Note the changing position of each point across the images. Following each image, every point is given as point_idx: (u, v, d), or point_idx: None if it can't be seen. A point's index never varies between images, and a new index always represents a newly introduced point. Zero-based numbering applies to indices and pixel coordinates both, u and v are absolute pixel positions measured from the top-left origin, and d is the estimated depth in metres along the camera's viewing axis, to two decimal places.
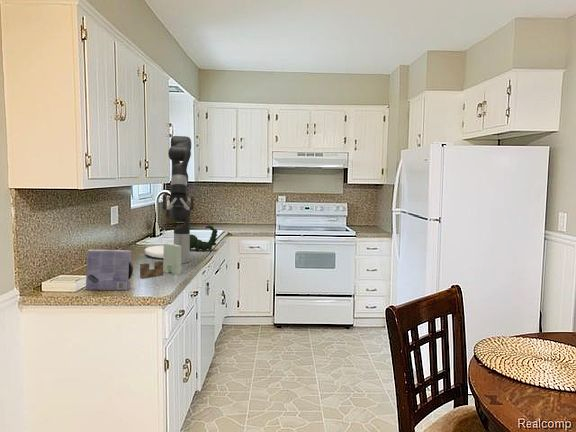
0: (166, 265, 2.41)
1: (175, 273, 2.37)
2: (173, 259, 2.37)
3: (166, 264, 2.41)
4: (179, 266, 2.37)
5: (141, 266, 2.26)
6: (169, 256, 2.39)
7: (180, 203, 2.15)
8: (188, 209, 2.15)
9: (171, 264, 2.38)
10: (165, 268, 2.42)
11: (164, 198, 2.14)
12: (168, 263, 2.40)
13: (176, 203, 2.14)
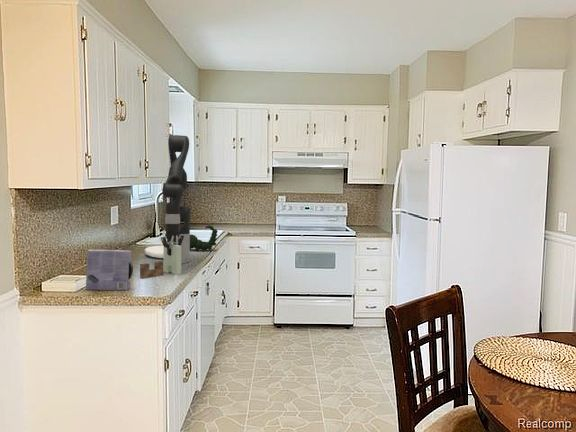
0: (166, 265, 2.41)
1: (175, 273, 2.37)
2: (173, 259, 2.37)
3: (166, 264, 2.41)
4: (179, 266, 2.37)
5: (141, 266, 2.26)
6: (169, 256, 2.39)
7: (174, 239, 2.39)
8: None
9: (171, 264, 2.38)
10: (165, 268, 2.42)
11: (164, 239, 2.34)
12: (168, 263, 2.40)
13: (173, 239, 2.39)
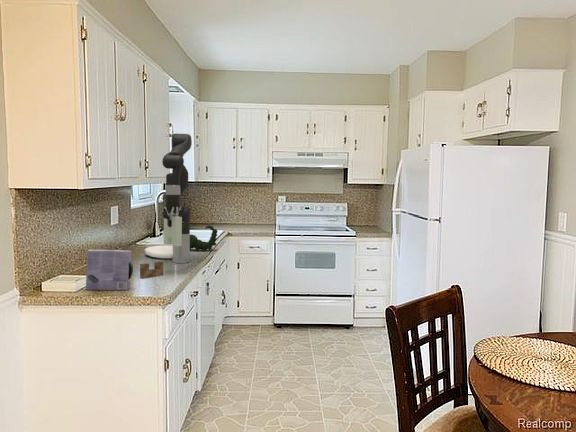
0: (167, 236, 2.40)
1: (175, 244, 2.36)
2: (173, 231, 2.36)
3: (166, 236, 2.40)
4: (179, 237, 2.36)
5: (141, 266, 2.26)
6: (169, 228, 2.38)
7: (174, 210, 2.38)
8: None
9: (171, 236, 2.37)
10: (165, 240, 2.41)
11: (164, 210, 2.33)
12: (169, 235, 2.39)
13: (174, 210, 2.37)
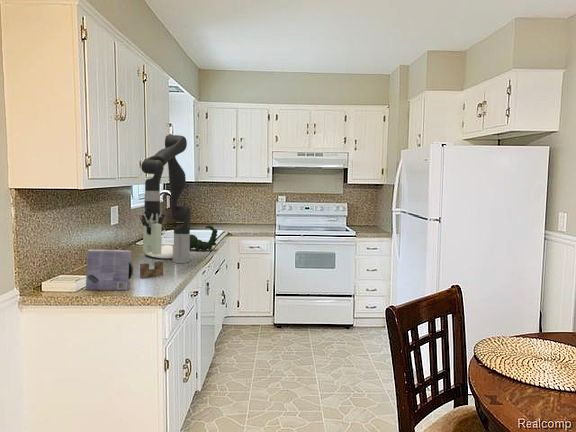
0: (146, 244, 2.31)
1: (155, 253, 2.26)
2: (153, 238, 2.27)
3: (146, 244, 2.31)
4: (159, 245, 2.27)
5: (141, 266, 2.26)
6: (148, 235, 2.29)
7: (153, 217, 2.28)
8: None
9: (151, 243, 2.28)
10: (144, 248, 2.31)
11: (143, 217, 2.23)
12: (148, 243, 2.29)
13: (153, 217, 2.28)
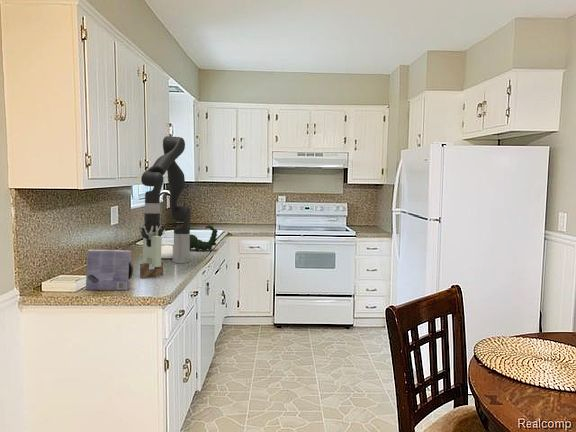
0: (146, 256, 2.31)
1: (155, 265, 2.27)
2: (153, 251, 2.27)
3: (146, 256, 2.31)
4: (159, 258, 2.27)
5: (141, 266, 2.26)
6: (148, 247, 2.29)
7: (153, 229, 2.29)
8: None
9: (151, 256, 2.28)
10: (144, 260, 2.32)
11: (143, 229, 2.24)
12: (148, 255, 2.30)
13: (153, 229, 2.29)
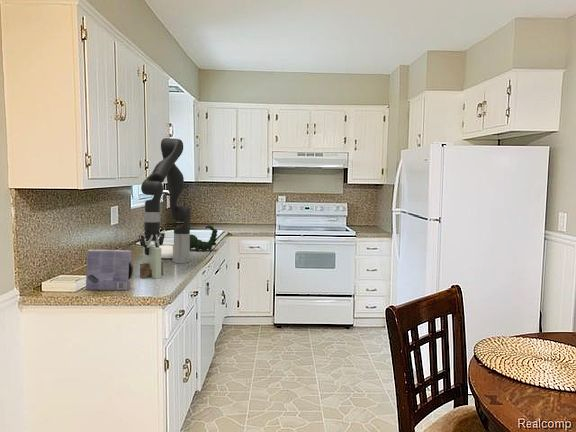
0: None
1: (155, 277, 2.27)
2: (153, 262, 2.28)
3: None
4: (159, 269, 2.28)
5: (141, 266, 2.26)
6: (148, 259, 2.30)
7: (154, 238, 2.29)
8: (158, 245, 2.32)
9: (151, 267, 2.29)
10: None
11: (142, 237, 2.24)
12: None
13: (152, 238, 2.29)
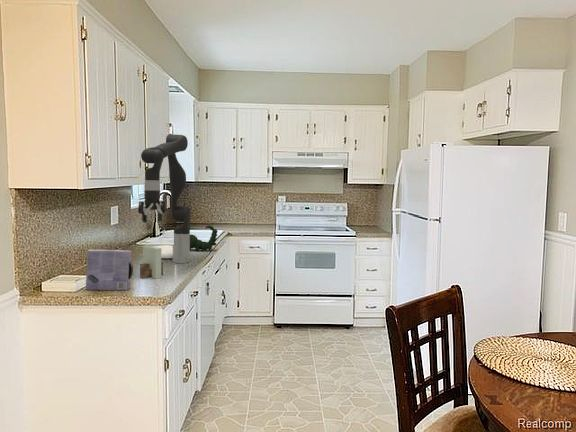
0: None
1: (155, 277, 2.27)
2: (153, 262, 2.28)
3: None
4: (159, 269, 2.28)
5: (141, 266, 2.26)
6: (148, 259, 2.30)
7: (155, 207, 2.28)
8: (161, 213, 2.31)
9: (151, 267, 2.29)
10: None
11: (142, 203, 2.22)
12: None
13: (152, 208, 2.27)
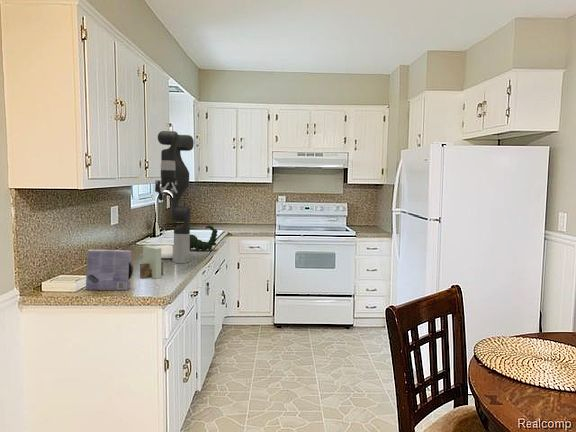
0: None
1: (155, 277, 2.27)
2: (153, 262, 2.28)
3: None
4: (159, 269, 2.28)
5: (141, 266, 2.26)
6: (148, 259, 2.30)
7: (170, 187, 2.41)
8: (176, 192, 2.44)
9: (151, 267, 2.29)
10: None
11: (159, 182, 2.35)
12: None
13: (167, 187, 2.39)
